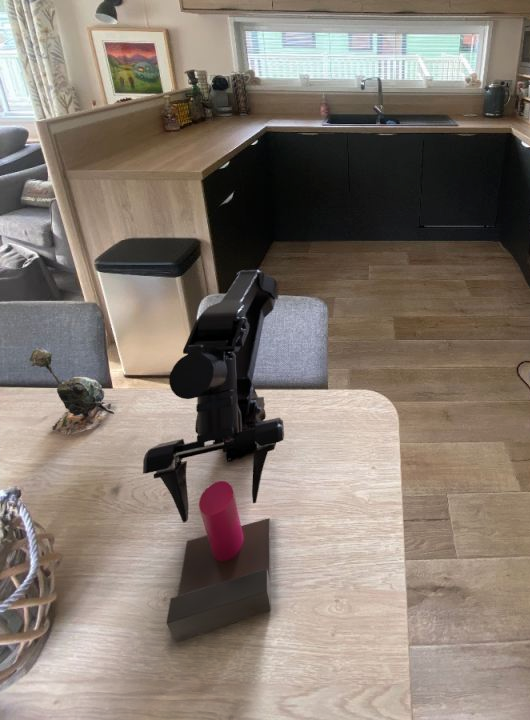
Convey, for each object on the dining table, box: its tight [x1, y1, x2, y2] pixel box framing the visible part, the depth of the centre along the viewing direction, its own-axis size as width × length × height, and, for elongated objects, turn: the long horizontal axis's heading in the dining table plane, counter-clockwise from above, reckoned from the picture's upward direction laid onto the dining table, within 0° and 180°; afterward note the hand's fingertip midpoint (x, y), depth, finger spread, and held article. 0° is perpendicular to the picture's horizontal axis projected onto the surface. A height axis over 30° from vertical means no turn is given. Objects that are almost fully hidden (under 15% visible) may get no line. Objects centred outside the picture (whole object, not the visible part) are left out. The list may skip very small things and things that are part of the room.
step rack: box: [165, 517, 272, 643], centre depth 55 cm, size 10×12×5 cm
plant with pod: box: [28, 347, 116, 436], centre depth 75 cm, size 8×11×20 cm
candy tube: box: [198, 480, 243, 561], centre depth 56 cm, size 4×4×11 cm
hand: (220, 511), depth 55 cm, fingers open, 9 cm apart
